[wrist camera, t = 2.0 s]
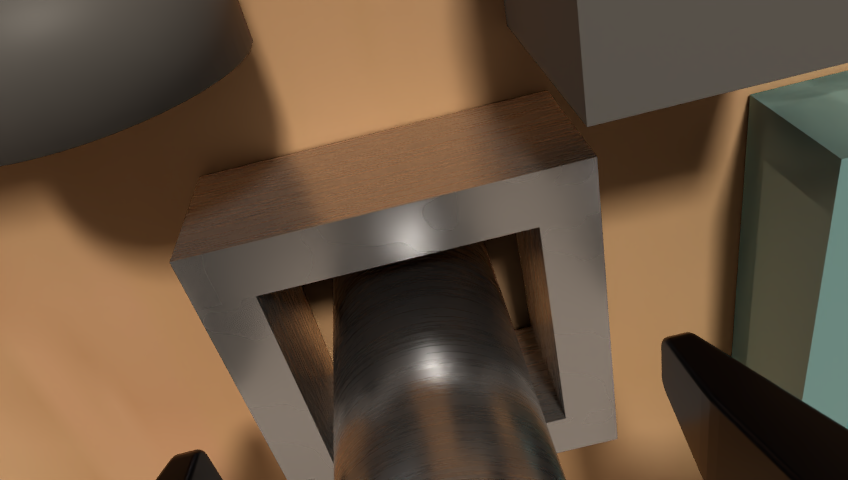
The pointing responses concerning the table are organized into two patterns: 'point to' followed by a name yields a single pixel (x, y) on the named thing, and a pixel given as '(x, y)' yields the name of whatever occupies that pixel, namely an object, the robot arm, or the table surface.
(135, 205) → the table surface
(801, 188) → the tray
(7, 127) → the trolley
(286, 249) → the socket
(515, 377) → the pin
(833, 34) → the dark grey cube
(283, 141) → the table surface
